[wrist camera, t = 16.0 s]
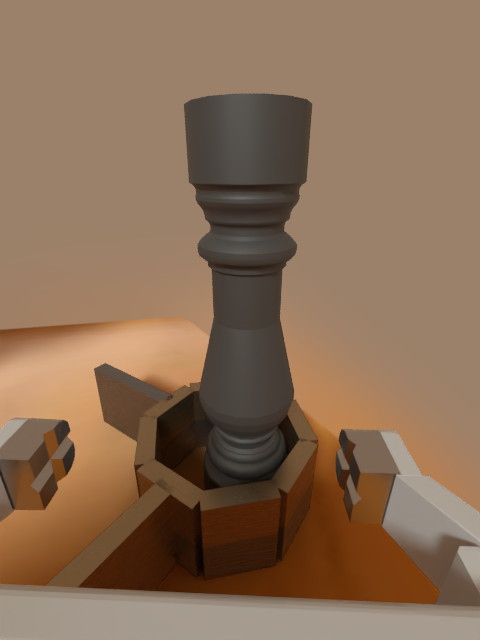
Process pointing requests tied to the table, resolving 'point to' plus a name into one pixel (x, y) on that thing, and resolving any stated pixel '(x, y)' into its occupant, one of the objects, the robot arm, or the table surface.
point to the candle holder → (246, 271)
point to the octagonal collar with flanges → (189, 496)
